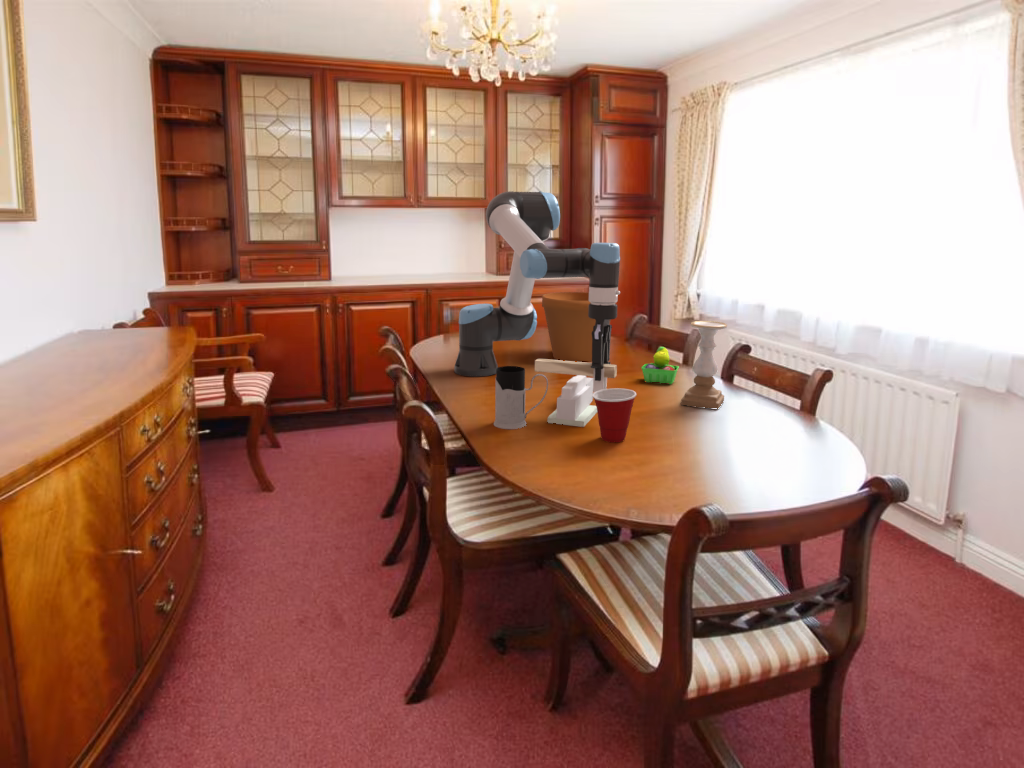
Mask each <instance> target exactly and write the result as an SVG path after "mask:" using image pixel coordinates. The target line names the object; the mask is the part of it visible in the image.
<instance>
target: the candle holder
mask: <svg viewBox="0 0 1024 768" xmlns="http://www.w3.org/2000/svg"><path fill="white" fill-rule="evenodd" d="M690 327H691V328H695V329H697V330H698V332H699V334H700V338H701V339H700V342H698V344H697V346H698V347H699V351H700V354H699V356H698V357H697V359H696V360H695V361H694V363H693V365H692V368H691V369H692V372H693V373H694V374H695V375H696V376H695V377H694V378H693V383H694V384H695V385H693V386H691V387H689V388H688V389H687V390H686V392H685V393H684V395H683V396H682V398H681V400H680V406H682V405H688V406H687V407H690V406H696V407H695V408H698V407H705V408H704V409H706V408H717V409H718V408H719V407H720V406H721V407H722V405H723V404H724V402H725V395H724V394H722V393H723V392H722V390H721V389H720V390H719V389H717V388H715V386H714V385H715V383H716V379H715V378H714V376H715V375H717V374H718V372H719V366H718V363H717V361H716V360H715V357H714V355H713V352H714V350H715V348H717V344H716V342H715V336H716V335H717V333H718V332H719V331H720V330H725V329H727V327H728V324H727V323H724V322H720V321H713V320H696V321H695V320H694V321H691V323H690ZM723 401H724V402H723ZM722 403H723V404H722ZM721 404H722V405H721ZM721 407H720V408H721Z"/></svg>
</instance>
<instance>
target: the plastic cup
mask: <svg viewBox="0 0 1024 768" xmlns="http://www.w3.org/2000/svg"><path fill="white" fill-rule="evenodd" d="M592 397H593V400H594V403H595V406H596V407H597V419H598V425H599V431H600V437H601V440H602V441H604V442H606V441H607V442H606V443H615V442H616V443H622V442H624V441H625V439H626V437H627V432H628V428H629V423H630V418H631V415H632V414H631V413H632V409H633V406H634V402H635V399H636V397H637V392H636V391H634V390H633V389H629V388H620V387H619V388H618V387H617V388H616V387H615V388H606V389H604V390H599V391H596V392H593V394H592ZM623 440H624V441H623ZM621 441H622V442H621Z"/></svg>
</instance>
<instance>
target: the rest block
mask: <svg viewBox="0 0 1024 768" xmlns="http://www.w3.org/2000/svg"><path fill="white" fill-rule="evenodd" d="M574 377H576V375H575V376H574V375H573V376H572V377H571V378H570V379H568V381H566V384H567V383H568V382H570V381H571V380H572V379H573V378H574ZM566 384H565V385H566ZM586 386H590V404H591V403H592V402H593V400H594V398H593V397H592V394H593V393H594V392H593V377H586Z"/></svg>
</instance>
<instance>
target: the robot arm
mask: <svg viewBox="0 0 1024 768" xmlns="http://www.w3.org/2000/svg"><path fill="white" fill-rule="evenodd" d="M560 212H561V211H560V206H559V202H558V199H557V197H556V196H555V195H554V194H553V193H551V192H545V191H514V190H513V191H511V190H510V191H504V192H501V193H498V194H497V195H496V196H495V197H493V198H492V199H491V200H490V201H489V203H488V205H487V208H486V210H485V220H486V224H487V225H488V226H489V228H490V229H491V231H492V232H493V233H495V234H496V235H499V236H501V237H502V238H503V240H505V242H506V243H507V244H508V245H509V247H511V249H512V250H513V251H514V252H513V255H512V263H511V267H510V272H509V278H508V283H507V288H506V295H505V297H503V298H502V299H501V300H500V304H499V307H494V305H493V304H492V303H477V304H471V305H466V306H463V307H462V308H461V309H460V311H459V314H458V315H459V316H458V338H459V339H458V341H459V342H458V343H459V344H458V345H459V349H458V350H459V351H458V353H457V357H456V360H455V364H454V367H453V369H454V373H455V374H456V375H459V376H464V377H489V376H492V375H496V368H498V366H499V365H498V361H497V359H496V356H495V353H494V347H493V345H494V342H505V341H506V342H507V341H508V342H509V341H521V340H527V339H531V337H532V336H533V335H534V334H535V332H536V329H537V325H538V321H537V319H538V315H537V311H536V309H535V307H534V305H533V303H532V302H531V300H532V295H533V291H534V285H535V281H536V280H540V279H553V278H554V279H557V278H558V279H559V278H588V279H589V284H588V285H589V286H588V293H589V302H591V303H590V304H589V308H588V316H589V318H591V319H595V320H596V322H595V325H594V326H593V331H592V361H591V363H592V366H591V368H594V374H593V376H592V378H593V393H594V392H596V391H599V390H604V389H608V388H607V387H608V386H607V383H608V378H605V377H604V368H603V367H604V366H603V364H611V361H610V355H611V337H612V336H611V335H612V330H613V329H612V328H613V326H612V324H610V325H609V320H615V319H617V317H618V304H617V302H618V298H619V297H618V295H620V294H621V291H620V290H619V284H620V283H619V279H620V265H621V263H620V261H621V256H620V253H621V251H620V245H619V244H618V243H616V242H593V243H591V246H590V249H589V248H588V247H587V248H586V247H578V248H549V246H548V245H546V244H545V241H548V240H549V238H550V234H551V232H553V231H555V230H557V229H558V228H559V226H560V223H561V221H560V220H561V213H560ZM615 303H616V304H615Z"/></svg>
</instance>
